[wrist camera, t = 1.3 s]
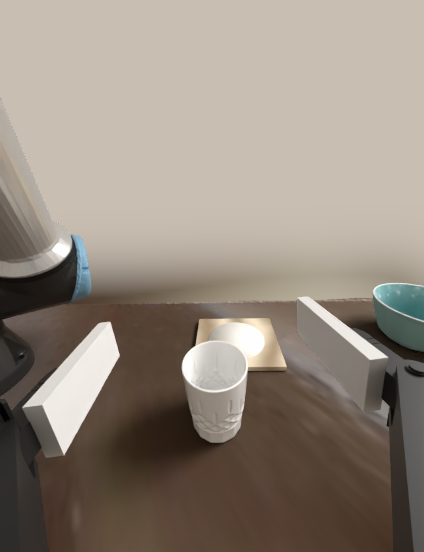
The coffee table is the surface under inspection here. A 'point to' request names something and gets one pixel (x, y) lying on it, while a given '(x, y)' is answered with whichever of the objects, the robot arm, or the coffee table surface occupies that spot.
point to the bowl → (401, 313)
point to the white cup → (215, 388)
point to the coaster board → (246, 340)
